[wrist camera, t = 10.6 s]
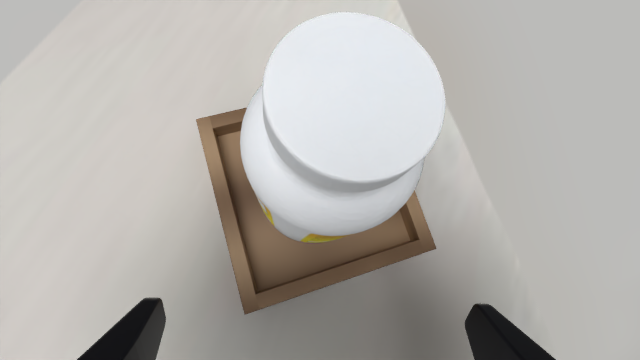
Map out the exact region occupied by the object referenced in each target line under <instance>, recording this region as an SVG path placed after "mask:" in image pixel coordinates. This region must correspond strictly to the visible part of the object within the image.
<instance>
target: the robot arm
mask: <svg viewBox="0 0 640 360" xmlns="http://www.w3.org/2000/svg"><path fill="white" fill-rule="evenodd" d="M165 322H166V316H165V311H164V307H163V302H162V300H161V299H160V298H145V299H143V300H142V301H140V302H139V303H138V304H137V305H136V306H135V307H134V308H133V309H132V310H131V311H129V312H128V313H127V314H126V315H125V316H124V317H123V318H122V319H121V320H120V321H119V322H117V323H116V324H115V325H114V326H113V327H112V328H111V329H110V330H109V331H108V332H107V333H105V334H104V335H103V336H102V337H101V338H100V339H99V340H98V341H97V342H96V343H95V344H93V345H92V346H91V347H90V348H89V349H88V350H87V351H86V352H85V353H84V354H83V355H81V356H80V357H79V358H78V359H77V360H156V356H157V353H158V349H159V345H160V342H161V338H162V335H163V331H164V327H165ZM465 329H466V332H467V336H468V339H469V342H470V346H471V349H472V352H473V356H474V359H475V360H556V359H554V358H553V357H552V356H551V355H550V354H548V353H547V352H546V351H545V350H544V349H542V348H541V347H540V346H539V345H538V344H536V343H535V342H534V341H533V340H532V339H530V338H529V337H528V336H527V335H526V334H525V333H523V332H522V331H521V330H520V329H519V328H517V327H516V326H515V325H514V324H513V323H511V322H510V321H509V320H508V319H507V318H505V317H504V316H503V315H502V314H501V313H499V312H498V311H497V310H496V309H495V308H493V307H492V306H491V305H489V304H475V305H473V307H472V309H471V311H470V312H469V314H468V316H467V318H466V320H465Z"/></svg>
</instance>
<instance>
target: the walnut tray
mask: <svg viewBox="0 0 640 360" xmlns="http://www.w3.org/2000/svg"><path fill="white" fill-rule="evenodd" d="M246 109H247V108H243V109H239V110H234V111H230V112H226V113H221V114H217V115H213V116H208V117H204V118H200V119H196V121H197V125H198V129H199V133H200V137H201V141H202V145H203V149H204V153H205V157H206V161H207V165H208V169H209V173H210V177H211V181H212V185H213V189H214V194H215V198H216V202H217V206H218V210H219V214H220V218H221V222H222V226H223V230H224V234H225V238H226V242H227V246H228V250H229V254H230V258H231V262H232V266H233V270H234V274H235V278H236V282H237V286H238V290H239V294H240V298H241V302H242V306H243V310H244V314H248V313H251V312H254V311H257V310H260V309H263V308H265V307H268V306H271V305H274V304H277V303H280V302H283V301H286V300H289V299H292V298H294V297H297V296H300V295H303V294H306V293H309V292H312V291H315V290H318V289H321V288H323V287H326V286H329V285H332V284H335V283H338V282H341V281H344V280H347V279H350V278H352V277H355V276H358V275H361V274H364V273H367V272H370V271H373V270H376V269H379V268H381V267H384V266H387V265H390V264H393V263H396V262H399V261H402V260H405V259H408V258H410V257H413V256H416V255H419V254H422V253H425V252H428V251H431V250H434V249H436V246H435V244H434V241H433V238H432V236H431V233H430V230H429V228H428V225H427V222H426V220H425V217H424V214H423V212H422V209H421V206H420V204H419V201H418V198H417V196H416V193H415V190H414V192H413V193H412V195H411V196H410V198H409V199H408V201H407V202H406V203H405V204H404V205H403V206H402V207H401V208H400V209H399V210H398V211H397V212H396V213H395V214H394V215H393V216H392V217H390V218H389V219H388V220H386V221H384V222H383V223H381V224H379V225H377V226H375V227H373V228H371V229H368V230H365V231H363V232H359V233H356V234H352V235H348V236H345V237H342V238H339V239H336V240H332V241H329V242H325V243H303V242H299V241H296V240H293V239H290V238H288V237H287V236H285V235H283V234H282V233H281V232H279V231H278V230H277V229H276V228H275V227H274V226H273V225H272V224H271V223H270V221H269V220H268V219H267V217H266V215H265V214H264V212H263V209H262V207H261V205H260V203H259V201H258V199H257V196H256V194H255V192H254V190H253V189H252V187H251V184H250V182H249V180H248V178H247V175H246V172H245V170H244V166H243V162H242V158H241V150H240V135H241V127H242V121H243V118H244V115H245V112H246Z"/></svg>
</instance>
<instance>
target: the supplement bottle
mask: <svg viewBox="0 0 640 360" xmlns="http://www.w3.org/2000/svg"><path fill="white" fill-rule="evenodd" d="M444 114H445V93H444V88H443V84H442V80H441V77H440V74H439V72H438V69H437V67H436V66H435V64H434V62H433V60H432V59H431V57H430V56H429V54H428V53H427V52H426V50H425V49H424V48H423V47H422V46H421V45H420V44H419V43H418V41H417V40H415V39H414V38H413V37H412V36H411V35H410V34H409V33H407V32H406V31H404V30H403V29H402V28H400V27H398V26H397V25H395V24H393V23H391V22H389V21H387V20H384V19H382V18H379V17H375V16H371V15H368V14H362V13H354V12H334V13H329V14H325V15H321V16H317V17H315V18H312V19H310V20H307V21H305V22H303V23H301V24H300V25H298V26H297V27H295V28H294V29H293V30H291V31H290V32H289V33H288V34H287V35H286V36H284V37H283V38H282V39H281V41H280V42H279V43H278V45H277V46H276V47H275V49H274V50H273V52H272V54H271V56H270V58H269V60H268V63H267V65H266V68H265V72H264V77H263V84H262V85H261V87H260V88H259V89H258V90H257V92H256V93H255V94H254V96H253V98H252V99H251V101H250V103H249V105H248V107H247V109H246V112H245V115H244V118H243V121H242V127H241V135H240V150H241V158H242V162H243V166H244V170H245V172H246V175H247V178H248V180H249V182H250V184H251V187H252V189H253V190H254V192H255V194H256V196H257V199H258V201H259V203H260V205H261V207H262V209H263V212H264V214H265V215H266V217H267V219H268V220H269V221H270V223H271V224H272V225H273V226H274V227H275V228H276V229H277V230H278V231H279V232H281V233H282V234H283V235H285V236H287V237H288V238H290V239H293V240H296V241H299V242H303V243H325V242H329V241H332V240H336V239H339V238H342V237H345V236H348V235H352V234H356V233H359V232H363V231H365V230H368V229H371V228H373V227H375V226H377V225H379V224H381V223H383V222H384V221H386V220H388V219H389V218H390V217H392V216H393V215H394V214H395V213H396V212H397V211H398V210H399V209H400V208H401V207H402V206H403V205H404V204H405V203H406V202H407V201H408V199H409V198H410V196H411V195H412V193H413V192H414V190H415V188H416V185H417V183H418V181H419V178H420V176H421V172H422V169H423V164H424V158H425V157H426V155H427V154H428V153H429V152H430V150H431V149H432V147H433V146H434V144H435V142H436V141H437V139H438V137H439V134H440V131H441V128H442V125H443V121H444Z"/></svg>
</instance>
